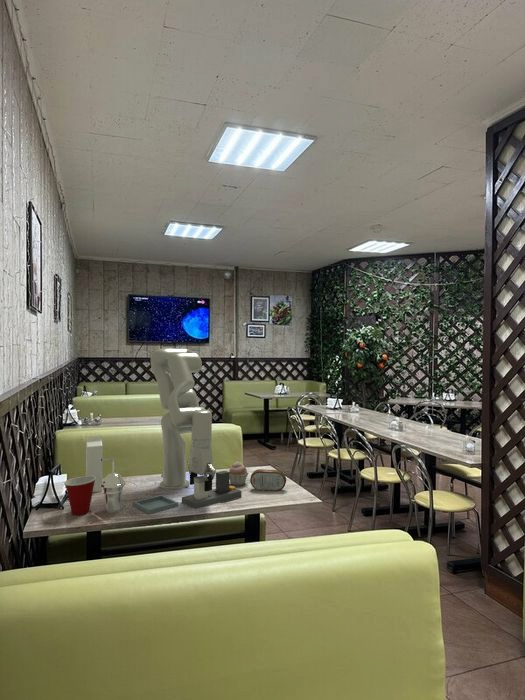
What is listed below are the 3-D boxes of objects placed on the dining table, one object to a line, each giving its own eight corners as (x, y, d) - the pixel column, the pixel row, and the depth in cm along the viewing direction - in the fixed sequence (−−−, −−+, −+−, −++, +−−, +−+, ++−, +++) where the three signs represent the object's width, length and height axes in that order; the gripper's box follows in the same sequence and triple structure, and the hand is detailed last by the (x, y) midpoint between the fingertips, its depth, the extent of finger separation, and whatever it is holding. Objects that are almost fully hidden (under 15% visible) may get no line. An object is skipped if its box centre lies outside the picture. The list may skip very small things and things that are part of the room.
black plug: (215, 497, 178) (215, 472, 178) (224, 495, 181) (224, 470, 181) (220, 499, 175) (220, 474, 175) (229, 497, 178) (229, 472, 178)
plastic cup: (73, 506, 167) (73, 474, 167) (101, 507, 166) (101, 475, 166) (57, 517, 156) (57, 482, 156) (86, 518, 155) (86, 483, 155)
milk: (85, 489, 188) (85, 436, 188) (101, 487, 191) (100, 435, 191) (87, 493, 183) (87, 439, 183) (102, 491, 185) (102, 437, 186)
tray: (133, 506, 167) (133, 501, 167) (161, 499, 176) (161, 494, 176) (148, 515, 159) (148, 510, 159) (178, 507, 167) (178, 502, 167)
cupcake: (252, 482, 198) (252, 460, 198) (241, 488, 190) (241, 464, 190) (234, 479, 203) (234, 457, 203) (222, 485, 194) (223, 462, 194)
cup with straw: (128, 513, 161) (128, 457, 161) (102, 517, 156) (102, 460, 156) (121, 505, 168) (122, 452, 168) (96, 510, 163) (96, 455, 163)
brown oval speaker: (286, 489, 189) (286, 469, 189) (285, 492, 186) (286, 471, 186) (250, 488, 190) (250, 468, 190) (249, 490, 187) (249, 470, 187)
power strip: (181, 503, 171) (181, 495, 171) (227, 491, 185) (227, 483, 185) (194, 510, 164) (195, 501, 164) (241, 497, 179) (241, 488, 179)
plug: (193, 503, 171) (194, 477, 171) (203, 501, 174) (203, 475, 174) (198, 505, 169) (198, 479, 169) (208, 503, 172) (208, 476, 172)
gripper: (180, 440, 175) (180, 483, 176) (206, 448, 163) (205, 495, 163) (196, 437, 180) (196, 479, 181) (223, 445, 168) (222, 491, 168)
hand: (200, 487), depth 172 cm, fingers open, 9 cm apart
